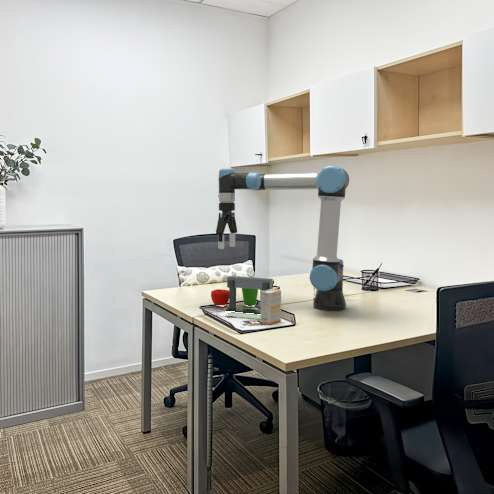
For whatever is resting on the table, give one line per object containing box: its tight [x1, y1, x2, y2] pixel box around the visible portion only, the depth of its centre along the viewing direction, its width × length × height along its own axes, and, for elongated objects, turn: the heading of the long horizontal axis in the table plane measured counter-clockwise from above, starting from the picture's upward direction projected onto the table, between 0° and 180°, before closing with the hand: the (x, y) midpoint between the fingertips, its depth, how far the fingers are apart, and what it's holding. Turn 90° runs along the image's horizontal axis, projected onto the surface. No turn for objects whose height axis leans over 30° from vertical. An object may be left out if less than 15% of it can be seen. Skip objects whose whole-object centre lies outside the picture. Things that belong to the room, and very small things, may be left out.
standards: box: [224, 281, 268, 314], centre depth 222 cm, size 21×6×14 cm, turn 70°
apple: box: [210, 288, 229, 306], centre depth 235 cm, size 9×9×8 cm
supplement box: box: [259, 288, 282, 326], centre depth 204 cm, size 8×5×13 cm, turn 141°
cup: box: [241, 288, 259, 306], centre depth 235 cm, size 9×9×11 cm
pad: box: [226, 312, 261, 321], centre depth 215 cm, size 22×7×1 cm, turn 70°
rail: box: [226, 275, 274, 290], centre depth 221 cm, size 20×4×4 cm, turn 70°
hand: (227, 247), depth 236 cm, fingers open, 13 cm apart
